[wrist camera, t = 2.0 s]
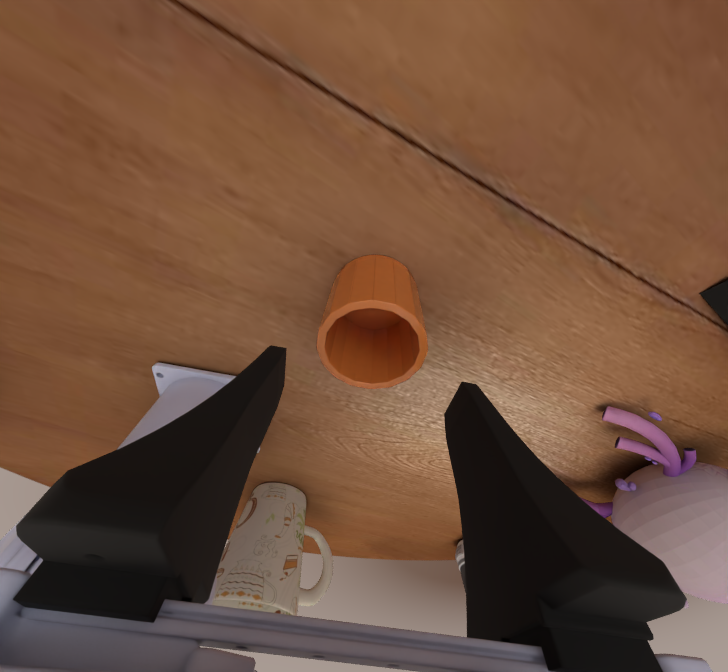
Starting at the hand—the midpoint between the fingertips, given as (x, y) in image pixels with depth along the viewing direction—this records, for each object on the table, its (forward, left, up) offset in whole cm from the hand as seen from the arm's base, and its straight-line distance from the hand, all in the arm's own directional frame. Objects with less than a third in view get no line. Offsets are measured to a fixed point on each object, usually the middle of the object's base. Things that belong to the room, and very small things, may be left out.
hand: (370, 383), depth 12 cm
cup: (0, 0, -8) cm, 8 cm away
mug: (-28, +3, -8) cm, 29 cm away
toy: (-12, -32, +1) cm, 34 cm away
